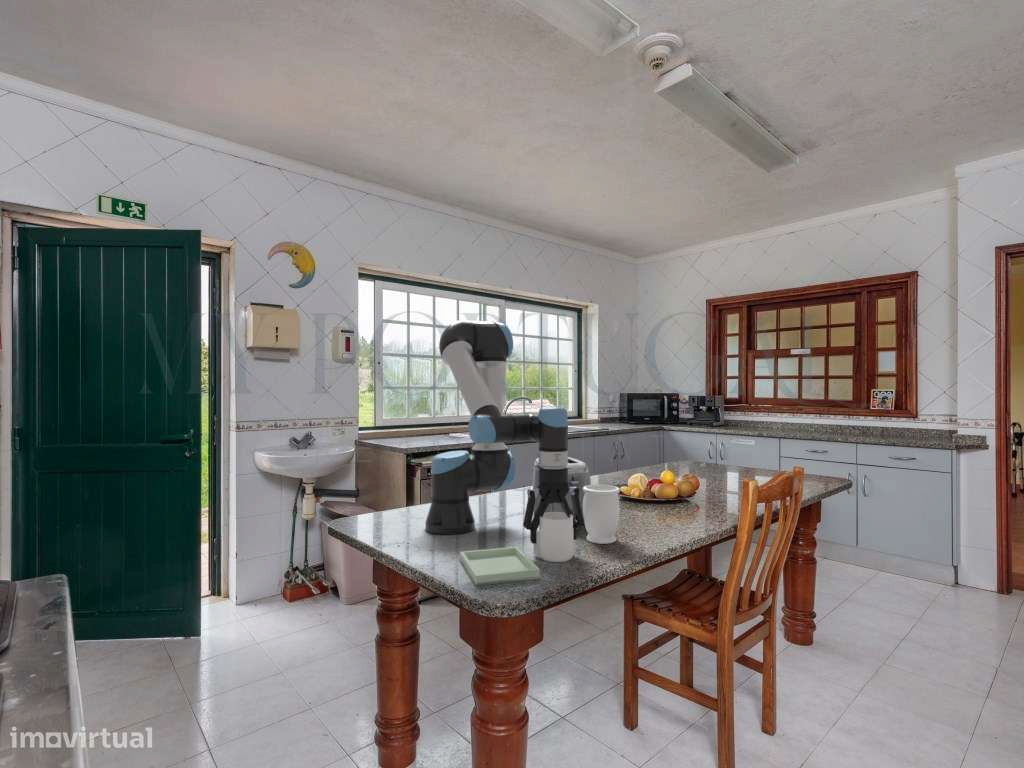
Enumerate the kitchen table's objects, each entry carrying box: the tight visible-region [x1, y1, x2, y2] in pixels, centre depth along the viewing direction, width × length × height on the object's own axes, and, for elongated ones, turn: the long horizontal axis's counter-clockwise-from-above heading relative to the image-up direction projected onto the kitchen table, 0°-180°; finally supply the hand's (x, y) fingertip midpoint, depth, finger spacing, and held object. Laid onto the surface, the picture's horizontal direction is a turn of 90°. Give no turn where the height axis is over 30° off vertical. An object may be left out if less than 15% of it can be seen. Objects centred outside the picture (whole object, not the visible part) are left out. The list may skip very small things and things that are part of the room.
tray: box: [459, 546, 541, 587], centre depth 130 cm, size 18×15×2 cm
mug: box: [538, 512, 574, 563], centre depth 141 cm, size 9×12×11 cm
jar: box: [583, 484, 621, 545], centre depth 155 cm, size 11×10×15 cm
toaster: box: [532, 456, 592, 524], centre depth 182 cm, size 17×30×19 cm, turn 14°
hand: (553, 553), depth 141 cm, fingers closed on mug, 9 cm apart
